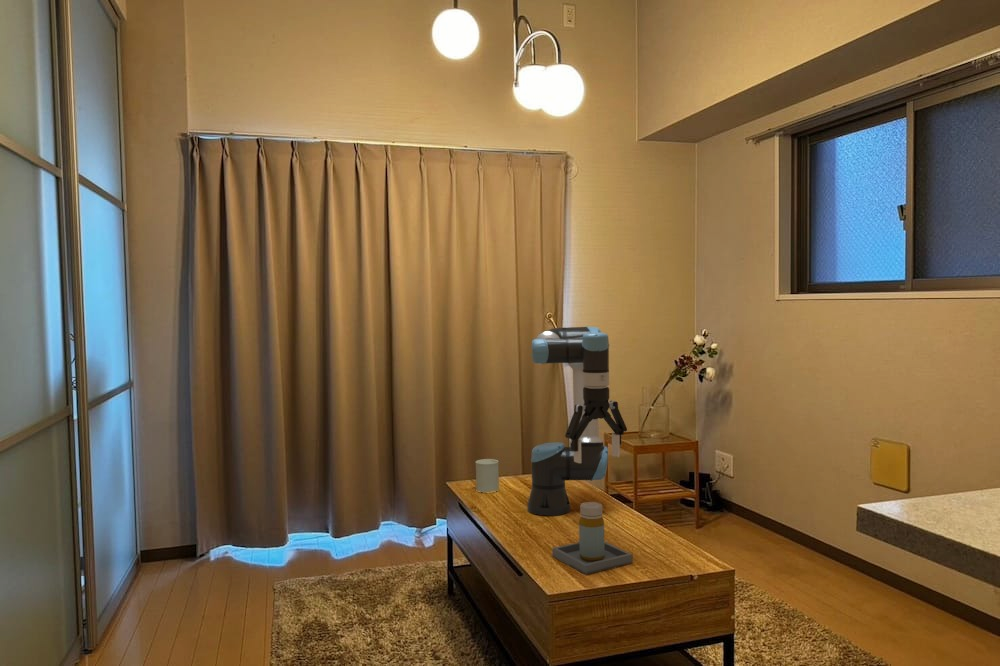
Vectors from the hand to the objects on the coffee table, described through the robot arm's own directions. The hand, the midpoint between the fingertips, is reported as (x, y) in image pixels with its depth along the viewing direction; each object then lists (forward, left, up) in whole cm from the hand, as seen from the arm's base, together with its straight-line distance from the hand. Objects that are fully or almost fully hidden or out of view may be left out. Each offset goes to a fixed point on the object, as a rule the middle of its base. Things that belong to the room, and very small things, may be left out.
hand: (597, 459), depth 199 cm
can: (-78, +4, -27) cm, 83 cm away
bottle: (+4, -5, -27) cm, 28 cm away
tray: (+4, -6, -27) cm, 28 cm away
